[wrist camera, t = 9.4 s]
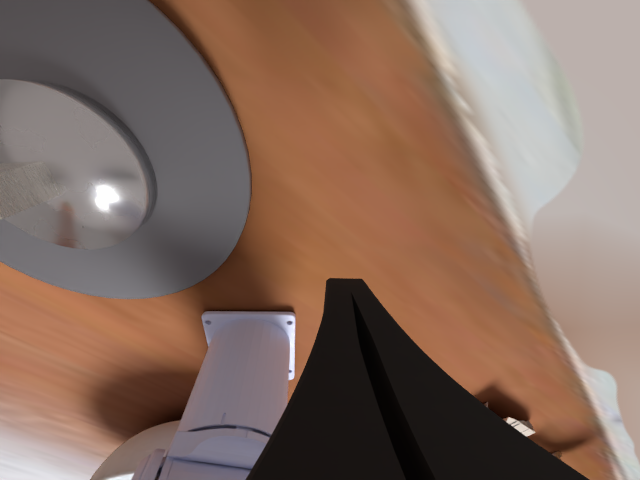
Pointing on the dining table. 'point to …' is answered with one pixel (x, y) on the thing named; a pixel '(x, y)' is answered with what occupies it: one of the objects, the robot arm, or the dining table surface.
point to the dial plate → (152, 132)
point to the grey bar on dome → (70, 167)
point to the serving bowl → (136, 452)
